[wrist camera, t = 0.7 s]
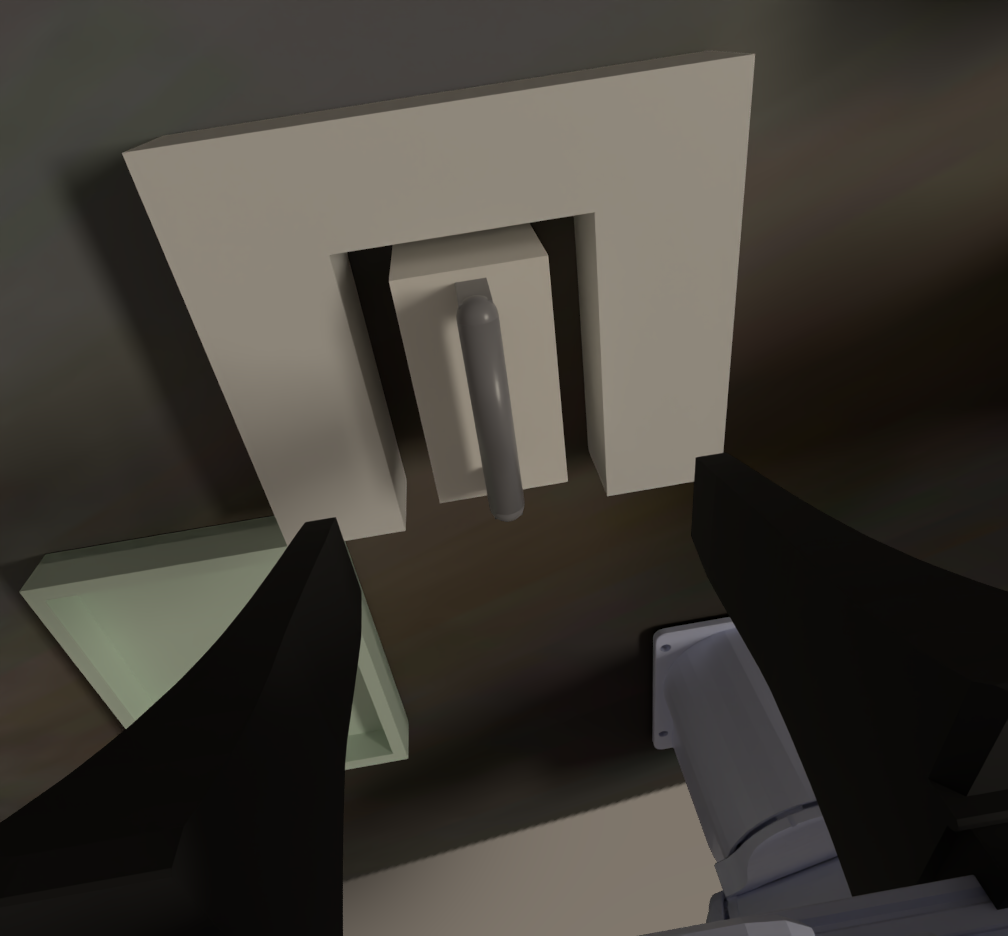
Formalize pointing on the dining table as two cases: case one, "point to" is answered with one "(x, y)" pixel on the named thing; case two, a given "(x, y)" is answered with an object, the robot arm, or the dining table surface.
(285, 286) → the bay
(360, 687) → the tray
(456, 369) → the block with grey handle
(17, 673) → the dining table surface
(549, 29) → the dining table surface
